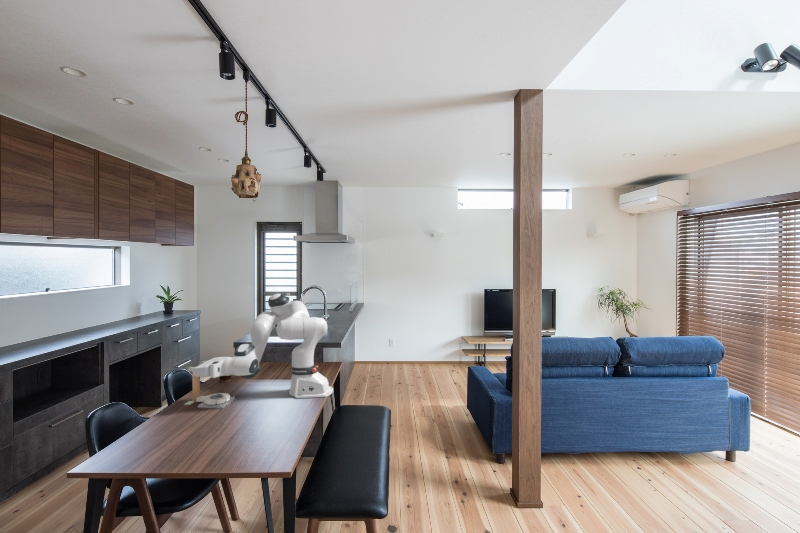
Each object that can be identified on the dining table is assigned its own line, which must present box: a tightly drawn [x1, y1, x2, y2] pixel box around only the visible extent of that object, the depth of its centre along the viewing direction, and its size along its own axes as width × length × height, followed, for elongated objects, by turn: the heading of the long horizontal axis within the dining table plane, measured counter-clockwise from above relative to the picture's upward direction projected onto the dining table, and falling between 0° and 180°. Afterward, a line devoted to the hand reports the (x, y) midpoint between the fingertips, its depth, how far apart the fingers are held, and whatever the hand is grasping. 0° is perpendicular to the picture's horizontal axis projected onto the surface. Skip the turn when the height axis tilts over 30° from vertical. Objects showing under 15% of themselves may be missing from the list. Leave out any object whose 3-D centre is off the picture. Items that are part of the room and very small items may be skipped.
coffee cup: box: [218, 375, 233, 383], centre depth 224 cm, size 9×8×13 cm
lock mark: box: [183, 400, 195, 406], centre depth 187 cm, size 3×4×1 cm
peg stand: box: [191, 371, 231, 405], centre depth 187 cm, size 17×11×16 cm, turn 90°
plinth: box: [197, 393, 236, 409], centre depth 187 cm, size 12×12×4 cm
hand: (194, 366), depth 186 cm, fingers open, 8 cm apart
